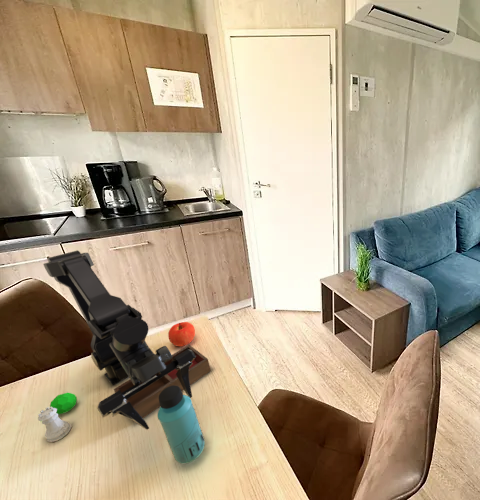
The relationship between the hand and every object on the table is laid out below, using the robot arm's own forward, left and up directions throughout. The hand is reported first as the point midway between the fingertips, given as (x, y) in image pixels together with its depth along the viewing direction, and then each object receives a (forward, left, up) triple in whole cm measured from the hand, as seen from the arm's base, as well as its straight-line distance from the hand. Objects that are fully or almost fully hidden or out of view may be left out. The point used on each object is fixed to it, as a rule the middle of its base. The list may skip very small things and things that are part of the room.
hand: (170, 412), depth 63 cm
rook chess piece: (-27, -16, -11) cm, 33 cm away
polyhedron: (-34, -13, -11) cm, 38 cm away
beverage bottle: (+4, 0, -11) cm, 12 cm away
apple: (-34, +18, -11) cm, 40 cm away
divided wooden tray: (-20, +6, -11) cm, 23 cm away
